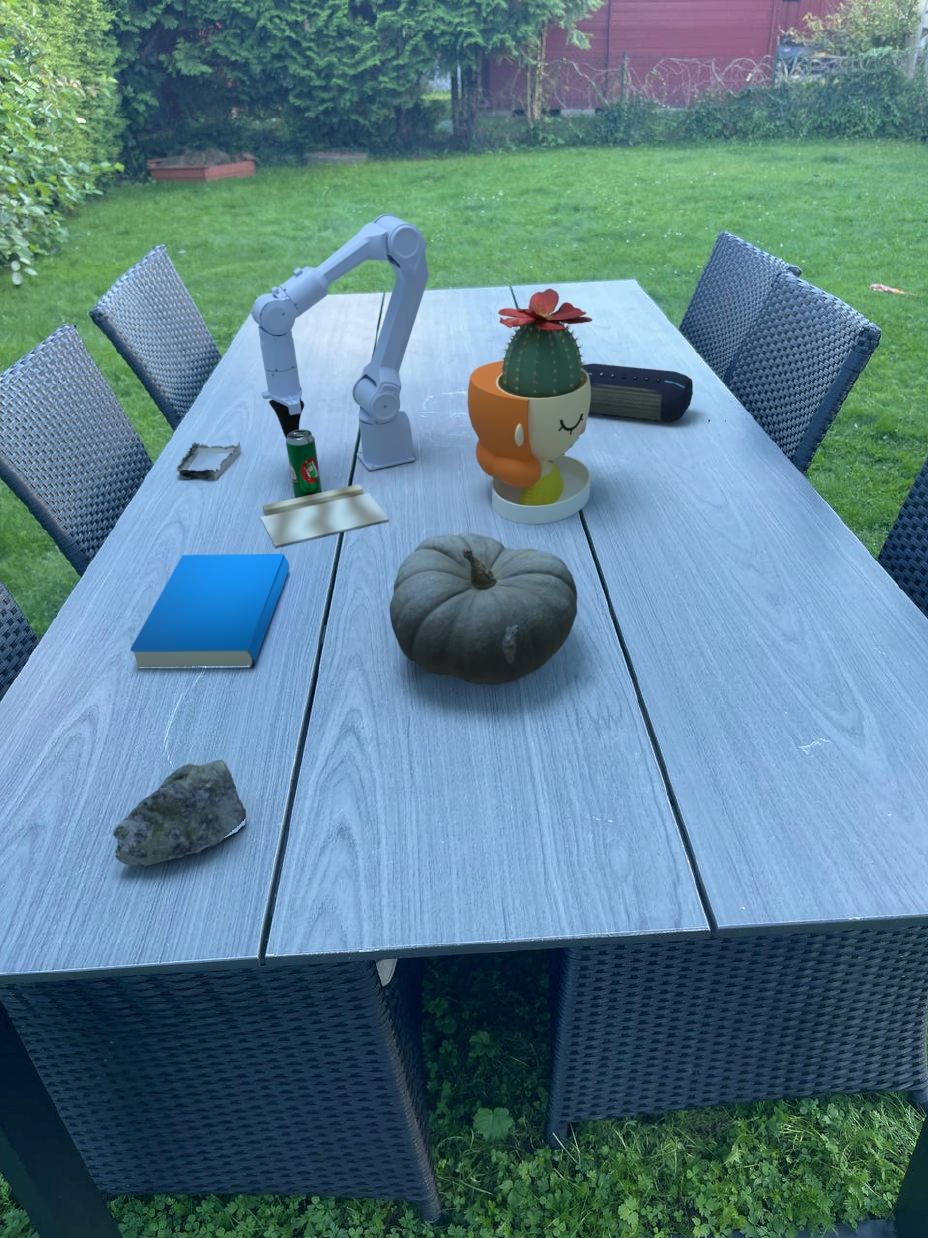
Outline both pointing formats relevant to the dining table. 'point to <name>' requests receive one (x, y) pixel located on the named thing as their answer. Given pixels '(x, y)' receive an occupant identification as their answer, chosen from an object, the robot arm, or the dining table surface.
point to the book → (212, 611)
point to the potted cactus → (534, 415)
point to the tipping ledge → (320, 515)
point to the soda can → (303, 463)
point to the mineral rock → (181, 816)
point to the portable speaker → (638, 392)
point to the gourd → (481, 608)
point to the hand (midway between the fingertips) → (291, 437)
